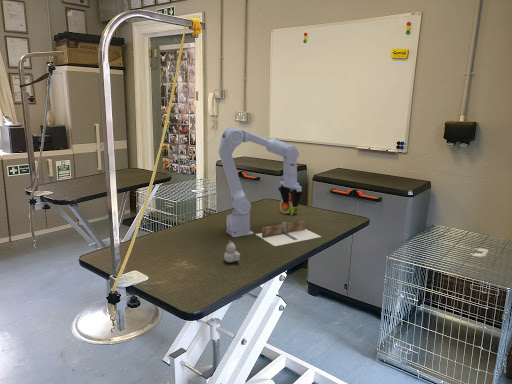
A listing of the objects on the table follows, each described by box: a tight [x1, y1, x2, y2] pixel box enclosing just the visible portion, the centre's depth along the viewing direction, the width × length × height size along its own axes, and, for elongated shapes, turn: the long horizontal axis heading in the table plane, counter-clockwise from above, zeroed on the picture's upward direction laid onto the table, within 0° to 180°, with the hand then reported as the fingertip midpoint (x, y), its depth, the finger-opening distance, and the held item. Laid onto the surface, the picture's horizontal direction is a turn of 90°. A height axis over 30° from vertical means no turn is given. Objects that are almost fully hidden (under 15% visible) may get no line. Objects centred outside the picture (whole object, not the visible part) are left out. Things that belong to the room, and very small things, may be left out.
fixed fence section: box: [261, 221, 288, 239], centre depth 166 cm, size 11×2×5 cm, turn 118°
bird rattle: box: [279, 193, 299, 217], centre depth 196 cm, size 6×11×9 cm
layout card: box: [255, 228, 322, 247], centre depth 166 cm, size 22×16×1 cm
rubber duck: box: [223, 240, 241, 263], centre depth 140 cm, size 5×7×8 cm
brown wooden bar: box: [287, 219, 306, 232], centre depth 170 cm, size 9×2×4 cm, turn 118°
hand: (290, 204), depth 174 cm, fingers open, 7 cm apart
